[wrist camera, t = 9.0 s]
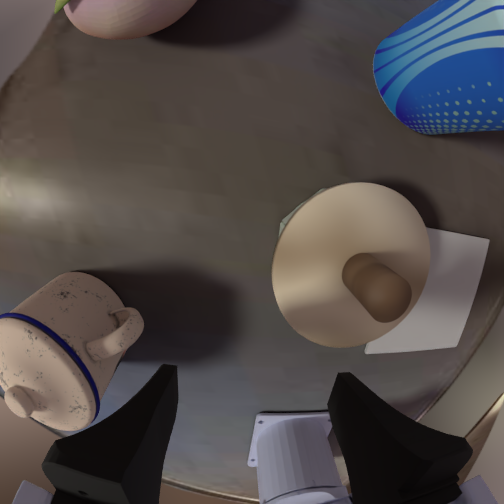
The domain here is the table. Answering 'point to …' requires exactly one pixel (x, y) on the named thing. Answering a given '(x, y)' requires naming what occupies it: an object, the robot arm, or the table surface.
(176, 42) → the table surface
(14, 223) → the table surface
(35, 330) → the teacup with lid
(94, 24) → the decorative fruit
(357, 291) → the lid
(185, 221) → the table surface
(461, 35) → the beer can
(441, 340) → the mat
